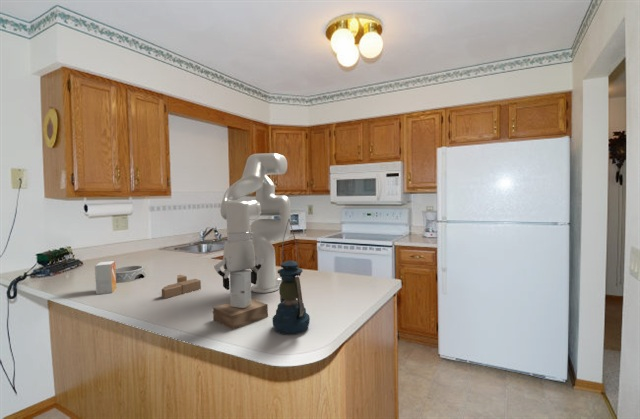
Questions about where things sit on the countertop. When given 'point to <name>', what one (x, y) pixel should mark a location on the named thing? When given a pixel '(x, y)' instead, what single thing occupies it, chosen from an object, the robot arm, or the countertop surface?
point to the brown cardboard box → (239, 314)
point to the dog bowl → (129, 273)
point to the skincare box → (240, 288)
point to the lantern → (290, 299)
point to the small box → (105, 277)
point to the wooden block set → (181, 287)
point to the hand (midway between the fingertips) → (240, 286)
